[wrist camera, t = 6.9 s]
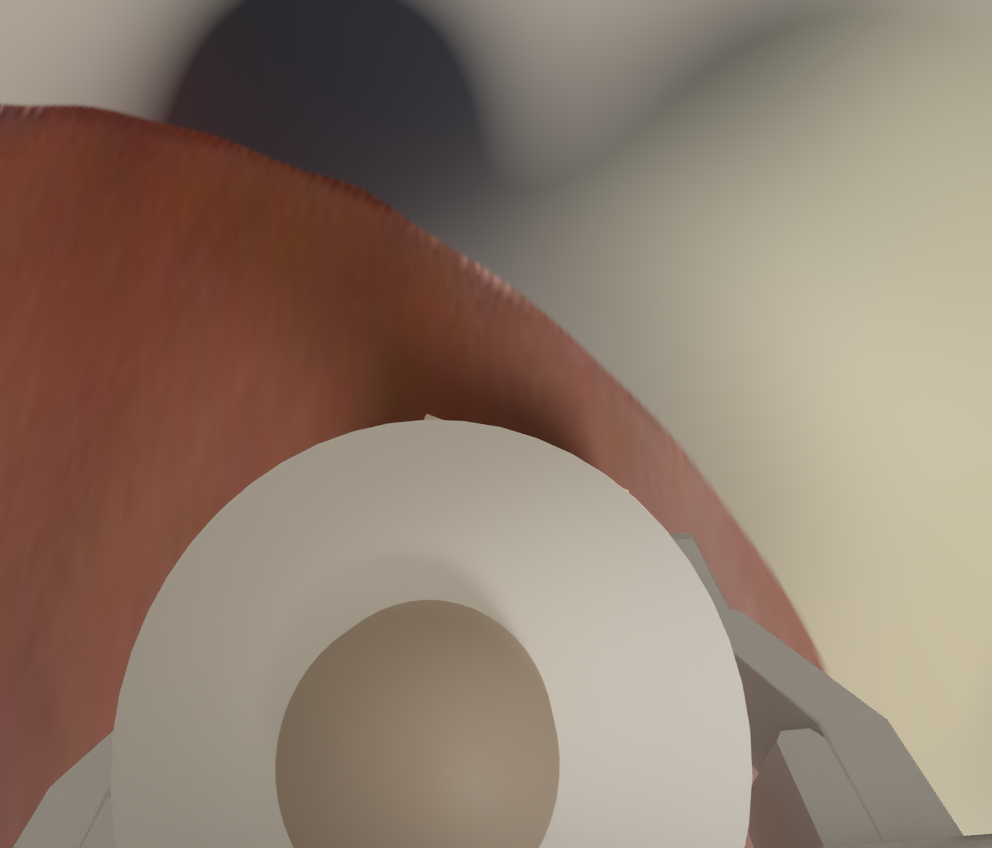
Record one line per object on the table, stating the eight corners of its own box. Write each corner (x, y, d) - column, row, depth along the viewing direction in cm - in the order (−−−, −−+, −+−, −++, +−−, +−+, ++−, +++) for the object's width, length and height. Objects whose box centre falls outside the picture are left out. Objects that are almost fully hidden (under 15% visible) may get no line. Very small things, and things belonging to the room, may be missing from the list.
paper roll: (387, 614, 15) (-72, 990, 3) (446, 466, 16) (255, 324, 4) (536, 677, 15) (647, 1386, 3) (590, 521, 16) (859, 549, 4)
